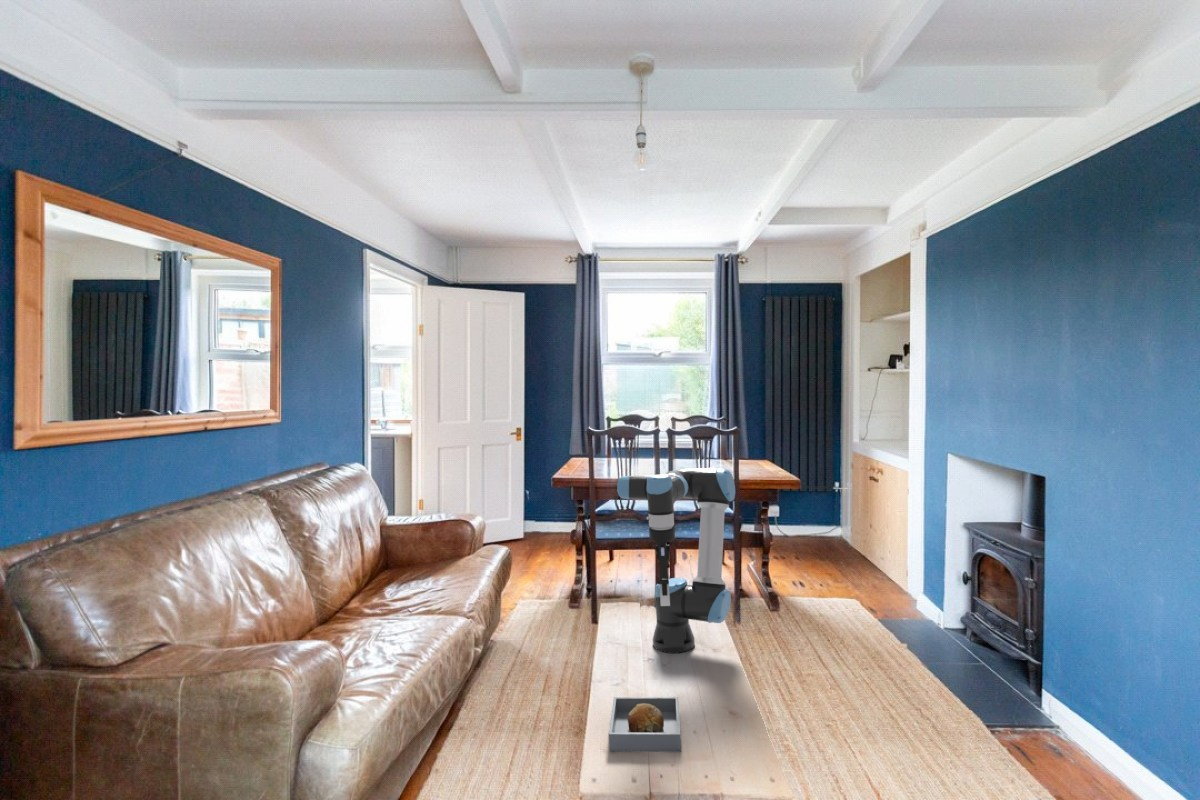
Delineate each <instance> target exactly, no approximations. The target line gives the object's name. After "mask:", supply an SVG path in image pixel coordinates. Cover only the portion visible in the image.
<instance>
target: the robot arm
mask: <svg viewBox="0 0 1200 800" xmlns="http://www.w3.org/2000/svg"><path fill="white" fill-rule="evenodd" d="M616 486H617V487H616V488H617V494H618V496H619V497H620V498H621V499H622V500H639V501H641V500H643V501H644V500H645V501H647V509H648V510H647V512H648V513H647V514H648V516H646V520H647V521H648V527H649V529H648V534H649V535H648V536H649V541H651V542H653V543H658V545H657V544H656V545H655V553H656V557H657V558H656V559H657V563H658V568H659V571H658V573H659V580H658V581H656V582H657V583H656V584H655V587H654V591H655V592H654V601H655V615H656V617H655V618H656V625H655V629H654V633H653V636H652V646H653V645H654V646H653V647H654V649H656V648H657V649H656V650H658V649H659V650H658V651H660V650H662V651H661V652H663V651H665V652H664V653H668V652H671V653H670V654H678V653H677V652H680V653H684V652H688V651H690V650H692V649H693V648H694V647H695V645H696V644H695V643H696V642H695V636H694V633H693V630H692V628H691V625H690V620H692V621H699V622H706V623H711V624H712V623H714V624H721V623H723V622H724V621H725V620H726V618H727V616H728V615H729V612H730V607H731V600H732V598H731V595H732V594H731V591H730V590H729V589H727V588H726V585H727V584H726V582H725V581H724V580H723V579H722V575H723V557H724V556H723V555H724V552H723V551H724V535H725V534H724V531H725V529H724V528H725V513H726V512H725V511H726V510H727V509H728V508H729V507H730V502H733V501H734V500H735V499H736V498H735V497H736V485H735V480H734V477H733V474H732V472H731V471H730V470H729V469H726V468H720V467H719V468H718V467H716V468H715V467H714V468H713V467H708V468H705V467H701V468H700V467H699V468H698V467H688V468H682V469H681V468H680V469H677V470H669V471H667V472H666V473H661V474H648V475H646V474H645V475H622V476H620V478H618V481H617V485H616ZM681 499H688V500H696V504H697V506H698V507H699V508H700V517H699V518H700V521H699V535H698V536H699V537H698V539H699V541H698V554H697V556H698V557H697V573H696V576H695V577H694V578H693V579H692V584H688V581H687V579H685V578H683V577H672V578H670V576H669V568H670V569H671V564H670V563H668V562H670V558H669V557H670V555H669V554H670V544H667V543H670V542H672V541H674V540H675V538H676V537H675V528H674V526H675V518H674V516H675V514H674V503H675V502H676V501H679V500H681Z"/></svg>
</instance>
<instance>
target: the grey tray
mask: <svg viewBox="0 0 1200 800" xmlns="http://www.w3.org/2000/svg"><path fill="white" fill-rule="evenodd" d="M643 703H646V704H651V705H653V706H655V707H656V708H658V709H659V710H660V711H661V713H662V715H663V720H664V727H663V729H662V730H661V732H659V733H644V732H630V730H629V725H628V715H629V713H630V711H631V710H632V709H633V708H634V707H635V706H636V705H637V704H643ZM679 705H680V703H679V696H614V697H613V701H612V707H611V708H612V709H611V714H610V721H609V729H608V750H609V752H656V753H657V752H661V753H664V752H665V753H666V752H667V753H668V752H670V753H671V752H673V753H675V752H676V753H680V752H681V753H682V738H681V724H680V719H681V718H680V706H679Z"/></svg>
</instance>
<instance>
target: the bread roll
mask: <svg viewBox="0 0 1200 800" xmlns="http://www.w3.org/2000/svg"><path fill="white" fill-rule="evenodd" d="M628 725H629V730H630V732H644V733H659V732H661V730H662V729H663V727H664V720H663V715H662V713H661V711H660V710H659V709H658V708H656V707H655V706H653V705H651V704H646V703H643V704H637V705H636V706H635V707H634V708H633V709H632V710H631V711H630V713H629V715H628Z"/></svg>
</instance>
